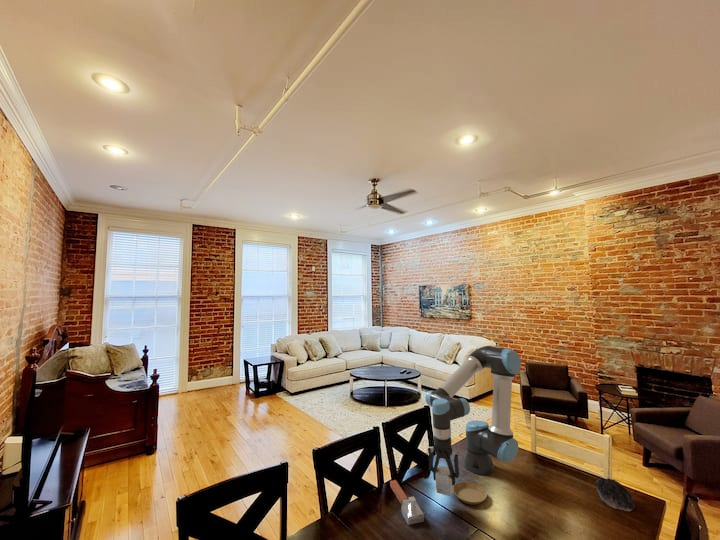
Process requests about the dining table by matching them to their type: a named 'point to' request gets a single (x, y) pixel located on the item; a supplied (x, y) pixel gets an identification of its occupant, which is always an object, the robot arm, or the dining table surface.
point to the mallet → (407, 505)
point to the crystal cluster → (614, 494)
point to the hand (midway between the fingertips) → (444, 489)
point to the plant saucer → (470, 492)
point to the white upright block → (443, 480)
